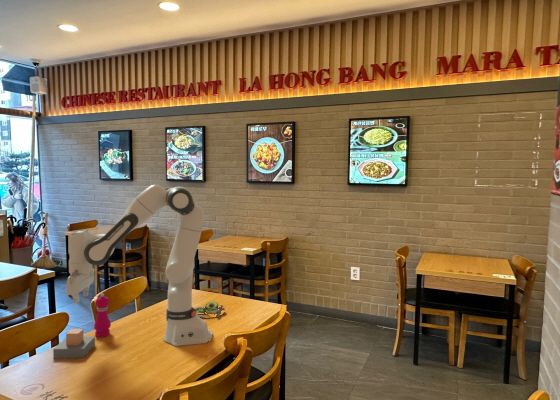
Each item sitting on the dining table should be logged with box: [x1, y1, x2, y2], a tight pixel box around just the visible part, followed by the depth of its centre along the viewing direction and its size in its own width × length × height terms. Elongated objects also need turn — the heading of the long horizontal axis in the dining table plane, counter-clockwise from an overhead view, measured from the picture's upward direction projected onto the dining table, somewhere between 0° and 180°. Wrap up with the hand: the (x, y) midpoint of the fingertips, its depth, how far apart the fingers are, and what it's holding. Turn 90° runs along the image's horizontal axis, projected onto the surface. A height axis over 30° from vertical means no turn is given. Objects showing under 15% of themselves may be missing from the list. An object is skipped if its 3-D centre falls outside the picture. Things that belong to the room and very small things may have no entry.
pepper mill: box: [93, 292, 112, 338], centre depth 184 cm, size 7×7×20 cm
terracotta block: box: [65, 328, 84, 345], centre depth 165 cm, size 5×5×5 cm
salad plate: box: [195, 301, 224, 318], centre depth 216 cm, size 19×18×5 cm
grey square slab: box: [52, 336, 96, 359], centre depth 166 cm, size 12×12×4 cm
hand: (81, 299), depth 168 cm, fingers open, 8 cm apart
